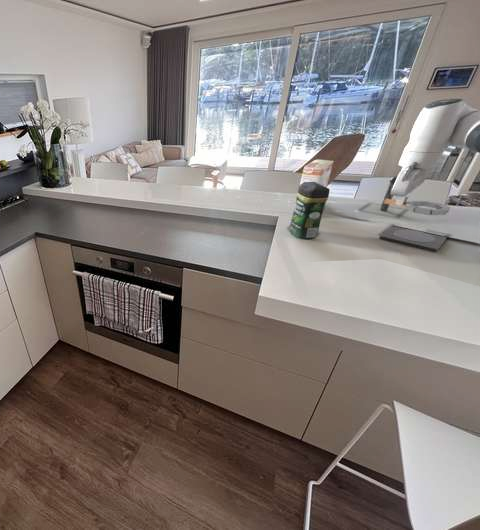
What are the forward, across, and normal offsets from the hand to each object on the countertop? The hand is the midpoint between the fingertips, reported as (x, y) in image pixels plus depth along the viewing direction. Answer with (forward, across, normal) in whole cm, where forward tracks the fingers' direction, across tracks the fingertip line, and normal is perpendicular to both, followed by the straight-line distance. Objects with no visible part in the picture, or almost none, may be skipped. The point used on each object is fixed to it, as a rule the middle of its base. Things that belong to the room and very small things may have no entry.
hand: (400, 203), depth 95 cm
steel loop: (+1, 0, -4) cm, 4 cm away
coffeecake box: (+11, +6, +29) cm, 32 cm away
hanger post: (+11, +20, +7) cm, 24 cm away
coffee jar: (+11, -20, +19) cm, 30 cm away
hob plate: (+11, 0, -7) cm, 13 cm away
